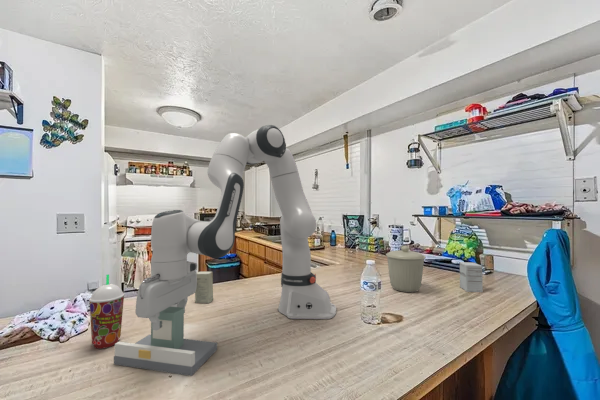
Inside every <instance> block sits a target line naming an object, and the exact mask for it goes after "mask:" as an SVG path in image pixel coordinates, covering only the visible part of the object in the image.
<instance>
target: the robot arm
mask: <svg viewBox="0 0 600 400" xmlns="http://www.w3.org/2000/svg"><path fill="white" fill-rule="evenodd" d="M263 162H264V163H265V164H266V167H267V168H268V171H269V176H270V180H271V184H272V189H273V193H274V196H275V199H276V201H277V203H278V207H279V209H280V213H281V217H280V220H279V227H280V238H281V239H280V241H281V250H282V272H281V274H280V275H281V276H280V285H281V292H280V293H281V294H280V301H279V305H278V308H277V310H278V312H279V313H281V314H282V315H285V316H286V317H287V318H288V319H294V320H296V319H298V320H300V319H301V320H331V319H332V318H334V317H335V316H336V313H337V306H336V305H335V304H334V303H332V302H331V297H330V294H329V292H328V291H327V290H325V289H324V288H323V287H322V286H320V284H318V283H317V282H316V281H317V274H316V273H315V274H314V273H313V272H311V271H312V269H311V266H312V263H311V261H312V259H311V258H312V254H311V253H312V252H311V249H310V244H309V240H308V239H309V237H311V236H313V234H314V233H315V231H316V229H317V222H316V218H315V216H314V214H313V213H312V210H311V207H310V204H309V202H308V199H307V197H306V195H305V193H304V189H303V185H302V180H301V178H300V173H299V169H298V166H297V164H296V161H295V157H294V156H293V153H292V151H291V150H290V148H288V147H287V143H286V139H285V136H284V135H283V132H282V131H281V129H280V128H279V127H278V126H276V125H272V124H267V125H263V126H261V127H259V128H258V129H255V130H253V131H252V132H250V133H249V134H248V135H246V136H244V135H243V134H241V133H237V132H229V133H227V134H225V135H224V137H223V138H222V140H221V141H220V142H219V144H218V145H217V147H216V149H215V151H214V153H213V154H212V157H211V158H210V161H209V164H208V166H207V167H208V168H207V176H208V179H209V180H210V182H211V183H212V184H213V185H214V186H215V187H216V188H219V189H220V191H221V193H220V198H219V202H218V205H217V210H216V213H215V215H214V217H213V218H212V219H211V220H209V221H206V220H205V221H204V220H200V219H198V218H197V219H196V218H194V217H192V216H190V215H188V214H187V213H186V212H185V211H184V210H181V209H173V210H166V211H162V212H159V213H157V214H156V215H155V216H154V217H153V220H152V224H151V233H150V234H151V235H150V245H151V246H150V247H151V249H152V255H151V259H150V277H147V278H146V277H145V278H144V279H143V281H142V282H141V283H140V284H139V285H138V291H137V294H136V299H135V302H136V303H135V315H136V316H137V317H138V318H139V319H140V318H141V319H149V321H150V324H151V323H152V329H153V330H159V329H160V328H162V321H159V319H158V317H159V316H160V312H161V311H163V310H165V309H167V308H168V307H170V306H172V305H174V304H176V303H178V302H179V306H178V307H180V308H184V314H185V313H186V310H185V309H186V306H187V303H188V301H189V300H188V299H189V297H190V296H192V295H193V294H194V295H195V291H196V288H197V273H198V272H197V271H196V270H198V263H197V262H195V261H194V262H193V261H188V254H190V253H192V254H196V255H203V256H205V257H209V258H212V259H221V258H223V257H225V256H227V254H229V253H230V251H231V250H232V248H233V247H234V244H235V238H236V225H237V221H238V216H239V211H240V207H241V203H242V198H243V193H244V190H245V189H244V188H245V187H244V186H245V184H244V180H243V175H244V172H245V168H246V165H248V166H249V165H250V166H253V165H256V164H259V163H263Z"/></svg>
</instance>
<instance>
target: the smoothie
mask: <svg viewBox="0 0 600 400" xmlns="http://www.w3.org/2000/svg"><path fill="white" fill-rule="evenodd" d="M105 278H106V280H105V281H106V282H105V284H102V285H100V286H98V287H97V288H96V289H95V290H94V291H92V292H93V293H92V295H91V296H90V298H89V312H90V313H89V314H90V315H89V316H90V333H91V344H92V345H93V347H94V349H107V348H111V347H112V346H115V343H117V342H119V339H120V338H121V337H122V336H121V334H122V333H121V332H122V322H123V311H124V300H125V292H123V290H122V288H121V287H120V286H118V285H117V284H114V283H110V274H106V275H105Z"/></svg>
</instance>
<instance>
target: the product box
mask: <svg viewBox="0 0 600 400" xmlns="http://www.w3.org/2000/svg"><path fill="white" fill-rule="evenodd" d="M158 319H159V321H162V328H160V329H159V330H153V329H152V323H151V322H150V335H151V346H157V347H165V348H173V349H178V348H180V347H181V346H182V345H183V342H184V339H185V338H184V336H185V333H184V331H185V328H184V326H185V313H184V308H180V307H168V308H167V309H165V310H163V311H161V312H160V316H159V317H158Z"/></svg>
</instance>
